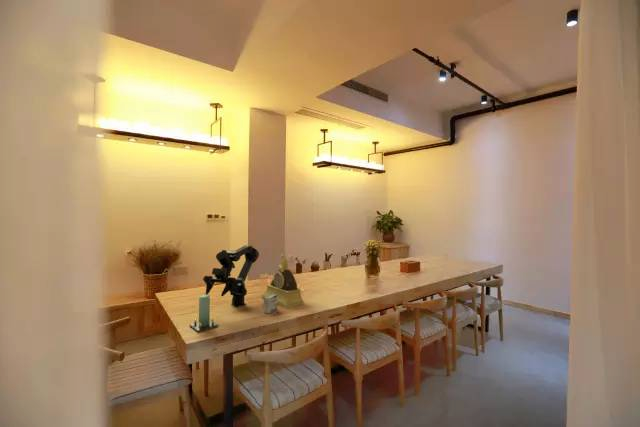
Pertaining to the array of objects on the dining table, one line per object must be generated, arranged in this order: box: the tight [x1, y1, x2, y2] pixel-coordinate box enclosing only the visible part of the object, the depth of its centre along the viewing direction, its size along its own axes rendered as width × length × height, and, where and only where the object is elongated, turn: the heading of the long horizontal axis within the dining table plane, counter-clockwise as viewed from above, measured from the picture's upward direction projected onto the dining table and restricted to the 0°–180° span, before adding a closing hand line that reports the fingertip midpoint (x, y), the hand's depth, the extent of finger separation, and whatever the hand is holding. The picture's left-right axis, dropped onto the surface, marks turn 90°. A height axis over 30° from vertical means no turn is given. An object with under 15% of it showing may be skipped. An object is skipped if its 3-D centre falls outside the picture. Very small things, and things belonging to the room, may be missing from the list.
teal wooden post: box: [198, 294, 211, 327], centre depth 139 cm, size 5×5×14 cm
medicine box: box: [263, 294, 278, 314], centre depth 162 cm, size 8×4×9 cm, turn 158°
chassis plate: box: [189, 318, 219, 334], centre depth 139 cm, size 10×10×4 cm
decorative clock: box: [260, 254, 304, 310], centre depth 180 cm, size 28×13×30 cm, turn 44°
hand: (213, 295), depth 146 cm, fingers open, 9 cm apart
